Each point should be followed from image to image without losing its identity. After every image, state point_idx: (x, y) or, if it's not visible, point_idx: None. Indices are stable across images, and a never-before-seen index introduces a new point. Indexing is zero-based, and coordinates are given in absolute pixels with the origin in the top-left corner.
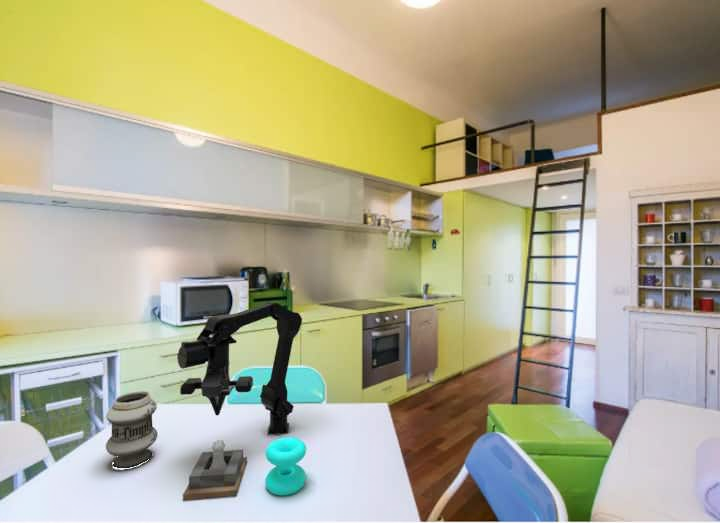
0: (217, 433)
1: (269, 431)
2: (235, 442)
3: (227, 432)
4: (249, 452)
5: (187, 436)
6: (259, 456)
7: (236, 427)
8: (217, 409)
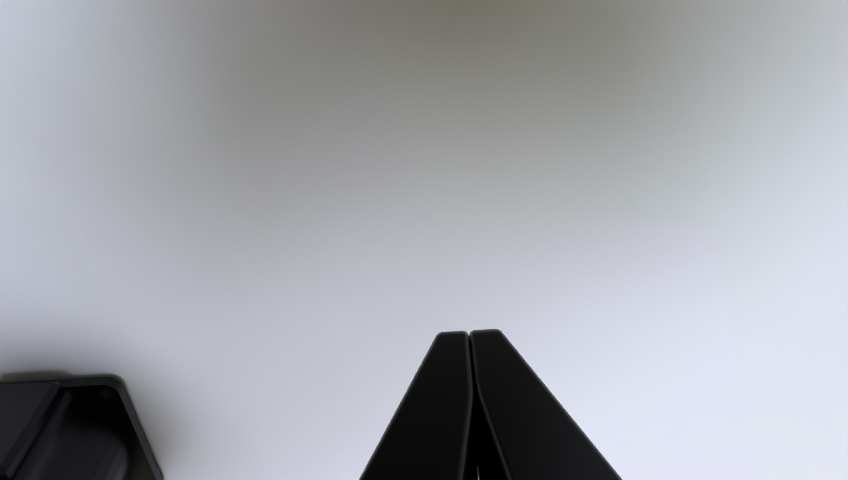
0: None
1: (109, 404)
2: (352, 284)
3: None
4: (151, 126)
5: (781, 376)
6: (14, 52)
7: None
8: (465, 415)
